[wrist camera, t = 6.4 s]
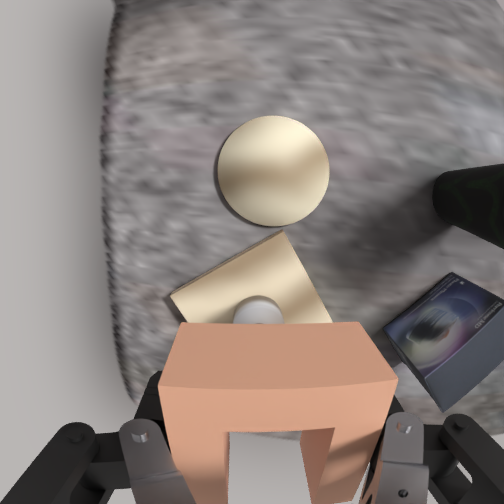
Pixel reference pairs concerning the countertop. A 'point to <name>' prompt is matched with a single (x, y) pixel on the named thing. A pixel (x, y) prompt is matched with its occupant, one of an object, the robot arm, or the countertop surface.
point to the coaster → (273, 171)
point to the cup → (473, 201)
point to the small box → (450, 338)
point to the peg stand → (254, 289)
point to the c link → (275, 400)
